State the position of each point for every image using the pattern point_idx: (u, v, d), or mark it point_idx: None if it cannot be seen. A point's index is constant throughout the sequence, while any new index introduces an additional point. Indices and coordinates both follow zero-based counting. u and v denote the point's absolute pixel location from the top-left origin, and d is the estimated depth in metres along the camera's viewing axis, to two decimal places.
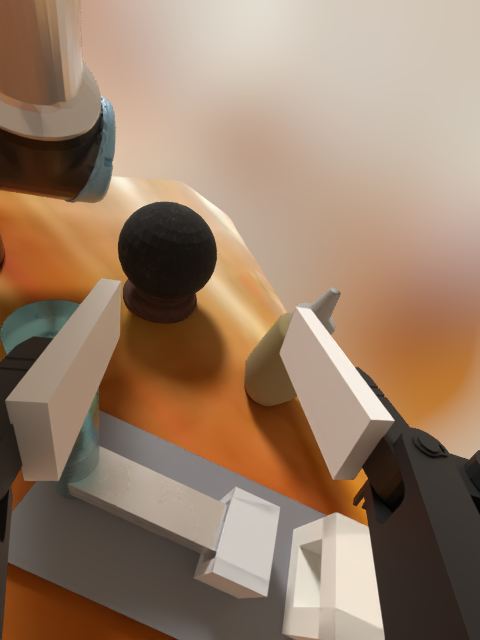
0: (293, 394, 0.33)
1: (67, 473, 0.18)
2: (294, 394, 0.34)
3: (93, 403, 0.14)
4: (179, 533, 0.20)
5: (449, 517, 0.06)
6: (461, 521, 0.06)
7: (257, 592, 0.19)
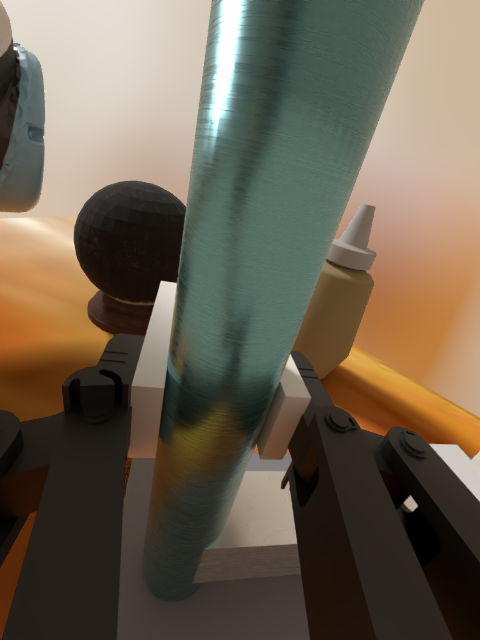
0: (349, 347, 0.29)
1: (219, 515, 0.09)
2: (350, 347, 0.29)
3: None
4: None
5: (357, 493, 0.06)
6: (367, 494, 0.06)
7: None
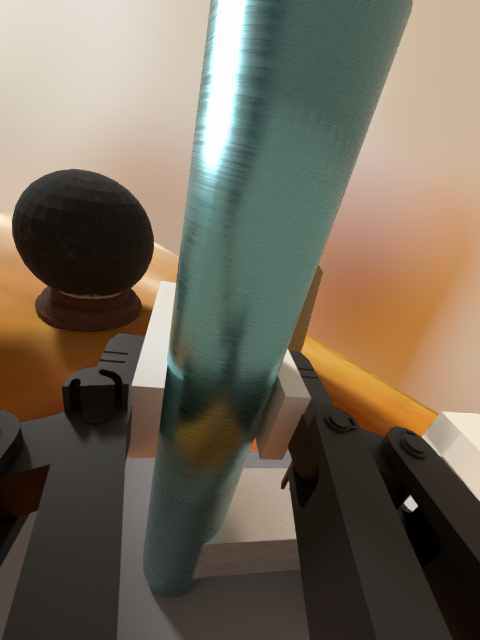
0: (301, 341, 0.28)
1: (218, 509, 0.10)
2: (302, 342, 0.28)
3: None
4: None
5: (357, 493, 0.06)
6: (367, 494, 0.06)
7: None
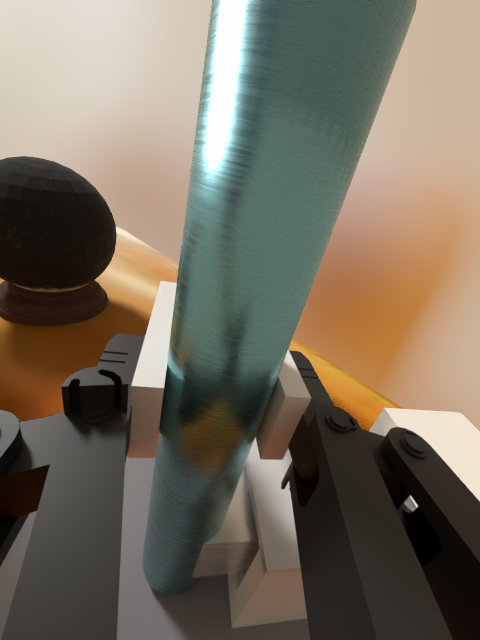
0: None
1: (218, 509, 0.10)
2: None
3: None
4: None
5: (357, 493, 0.06)
6: (367, 494, 0.06)
7: None
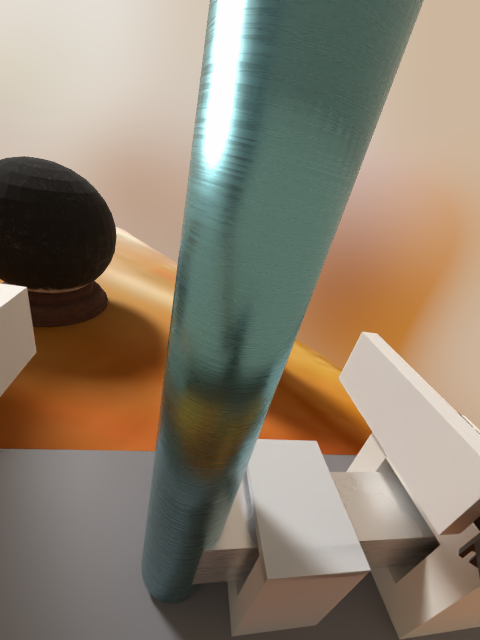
0: None
1: (218, 515, 0.09)
2: None
3: None
4: (401, 536, 0.12)
5: None
6: None
7: (353, 572, 0.10)
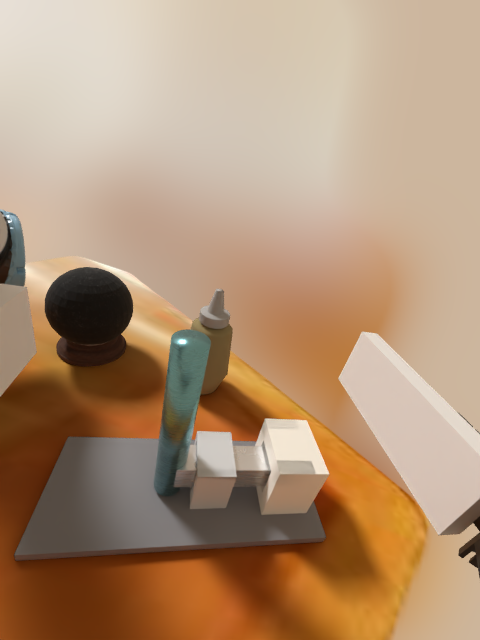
0: (221, 373, 0.45)
1: (181, 455, 0.28)
2: (222, 373, 0.45)
3: None
4: (258, 469, 0.31)
5: None
6: None
7: (230, 477, 0.28)
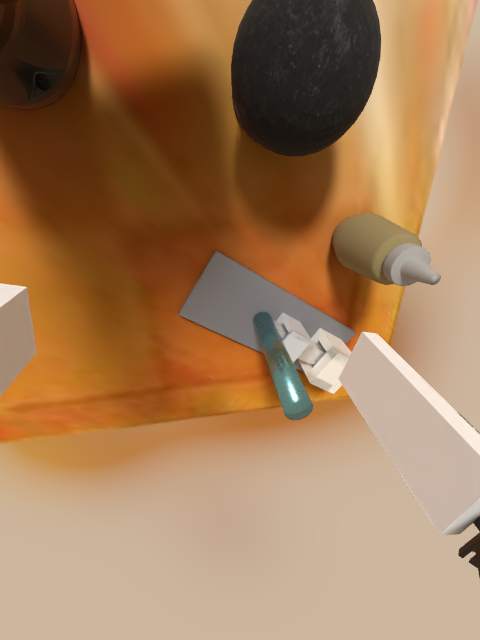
0: None
1: None
2: None
3: None
4: (307, 362, 0.47)
5: None
6: None
7: None
